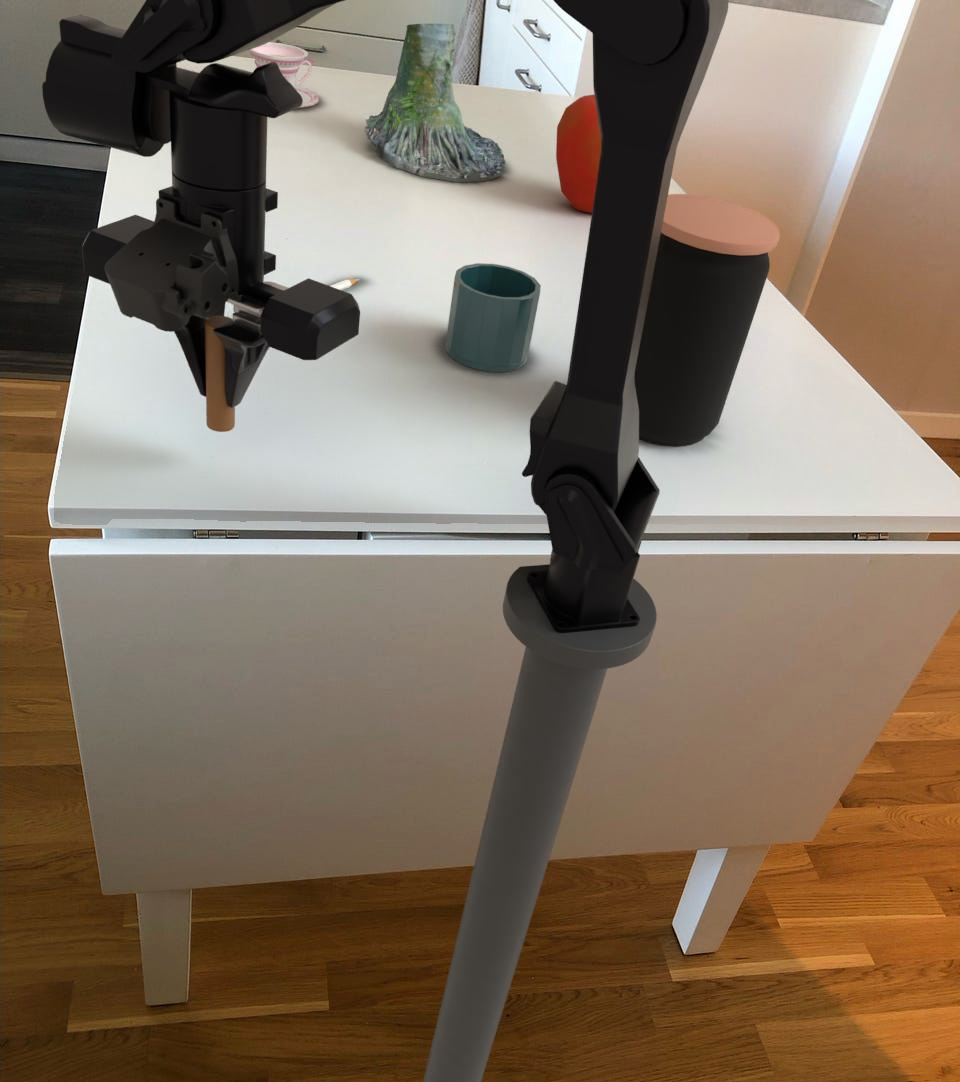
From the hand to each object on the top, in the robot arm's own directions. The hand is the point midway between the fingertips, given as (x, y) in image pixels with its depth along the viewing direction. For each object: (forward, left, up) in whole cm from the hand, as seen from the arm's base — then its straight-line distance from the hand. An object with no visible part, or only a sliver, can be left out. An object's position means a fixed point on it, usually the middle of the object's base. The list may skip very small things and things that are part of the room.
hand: (220, 399), depth 77 cm
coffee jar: (+5, -39, -6) cm, 40 cm away
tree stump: (+75, -38, -6) cm, 84 cm away
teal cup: (+18, -27, -6) cm, 33 cm away
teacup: (+97, -21, -6) cm, 99 cm away
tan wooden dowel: (0, 0, -2) cm, 2 cm away
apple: (+57, -54, -6) cm, 79 cm away
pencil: (+28, -11, -6) cm, 31 cm away
